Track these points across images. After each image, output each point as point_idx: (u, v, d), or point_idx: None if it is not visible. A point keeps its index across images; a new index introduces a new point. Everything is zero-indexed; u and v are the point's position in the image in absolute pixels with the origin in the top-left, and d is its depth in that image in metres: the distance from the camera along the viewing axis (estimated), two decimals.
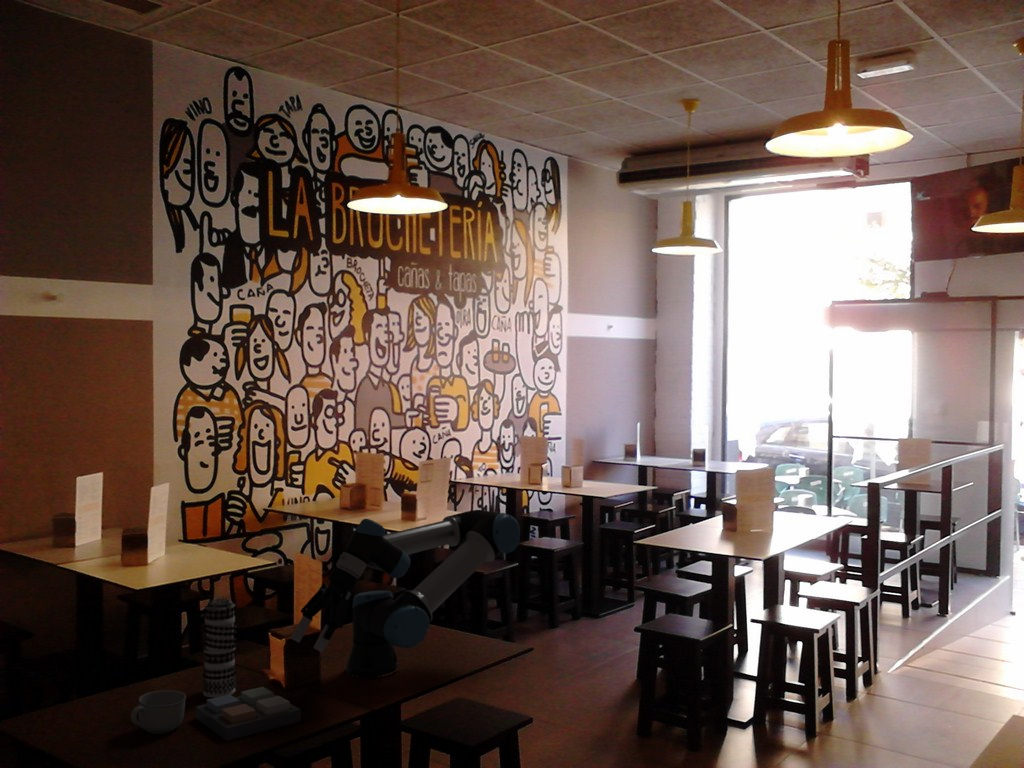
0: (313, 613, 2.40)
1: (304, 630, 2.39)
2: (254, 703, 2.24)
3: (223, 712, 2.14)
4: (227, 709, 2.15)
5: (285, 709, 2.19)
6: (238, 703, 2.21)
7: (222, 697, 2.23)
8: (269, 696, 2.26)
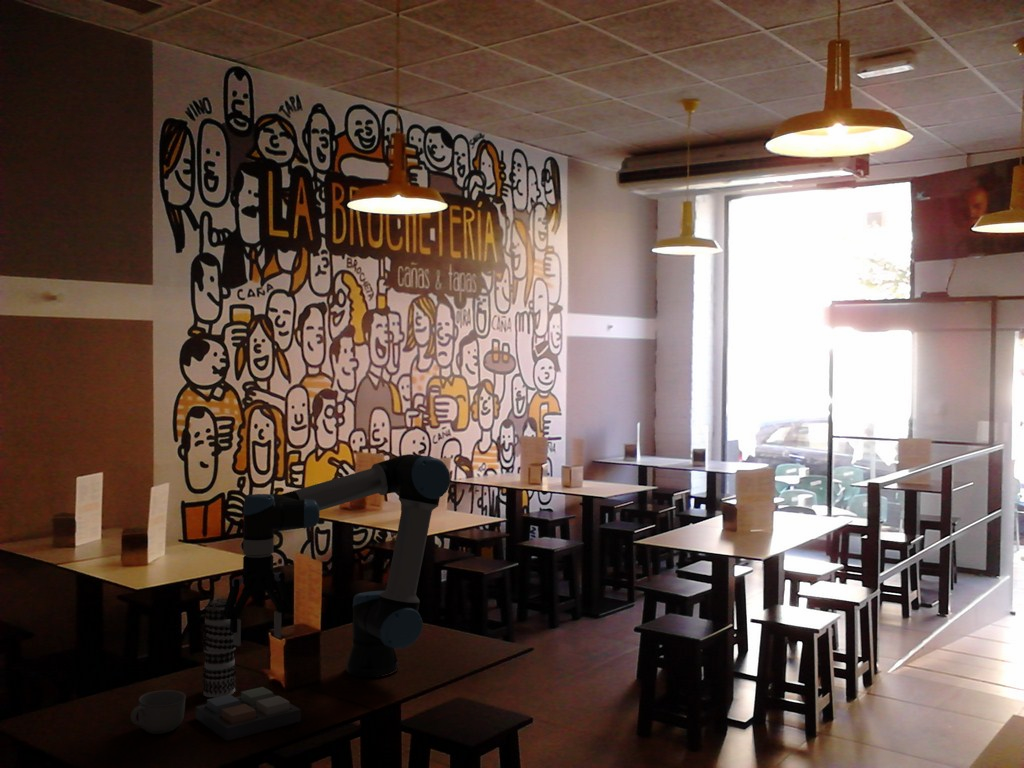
0: (276, 604, 2.30)
1: (277, 625, 2.30)
2: (254, 703, 2.24)
3: (223, 712, 2.14)
4: (227, 709, 2.15)
5: (285, 709, 2.19)
6: (238, 703, 2.21)
7: (222, 697, 2.23)
8: (269, 696, 2.26)
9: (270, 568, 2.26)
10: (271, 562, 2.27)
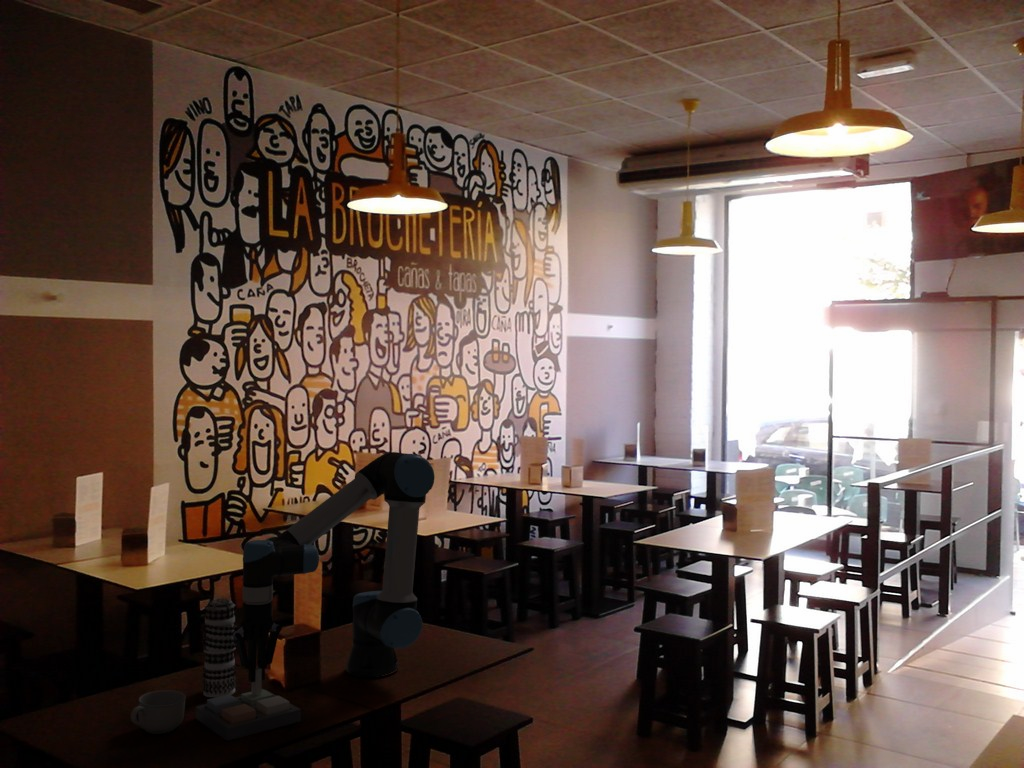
0: (260, 657, 2.27)
1: None
2: None
3: (223, 712, 2.14)
4: (227, 709, 2.15)
5: (285, 709, 2.19)
6: (238, 703, 2.21)
7: (222, 697, 2.23)
8: None
9: (269, 615, 2.26)
10: (270, 609, 2.27)
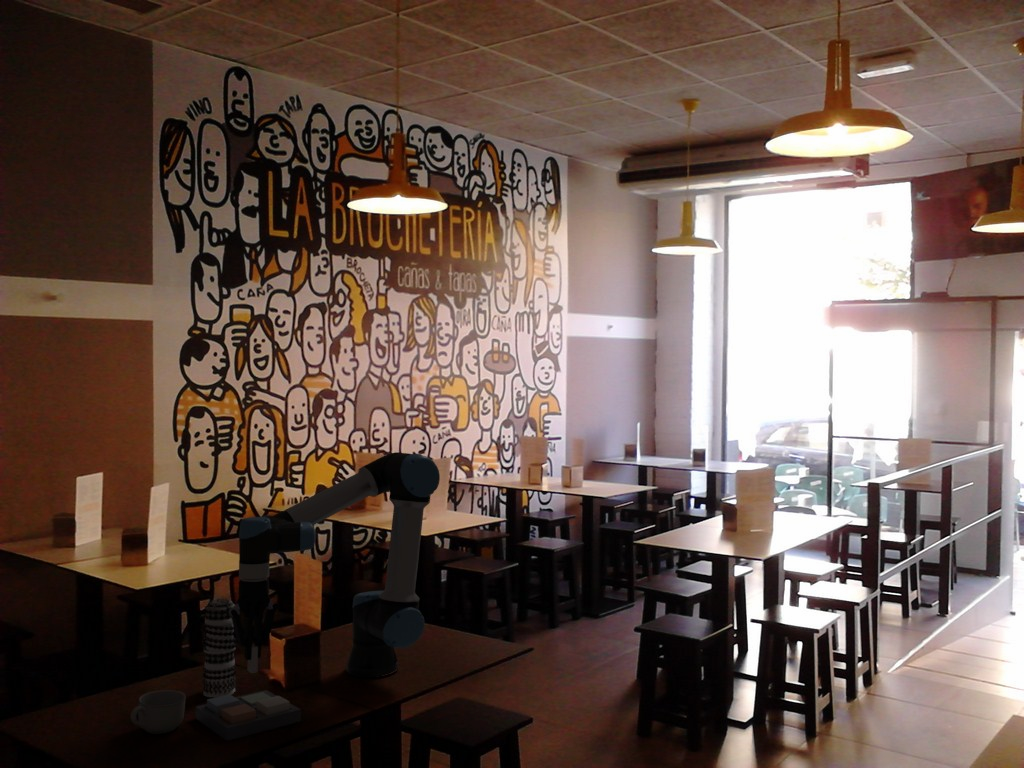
0: (256, 635, 2.25)
1: None
2: None
3: (223, 712, 2.14)
4: (227, 709, 2.15)
5: (285, 709, 2.19)
6: (238, 703, 2.21)
7: (222, 697, 2.23)
8: None
9: (265, 592, 2.24)
10: (267, 586, 2.24)
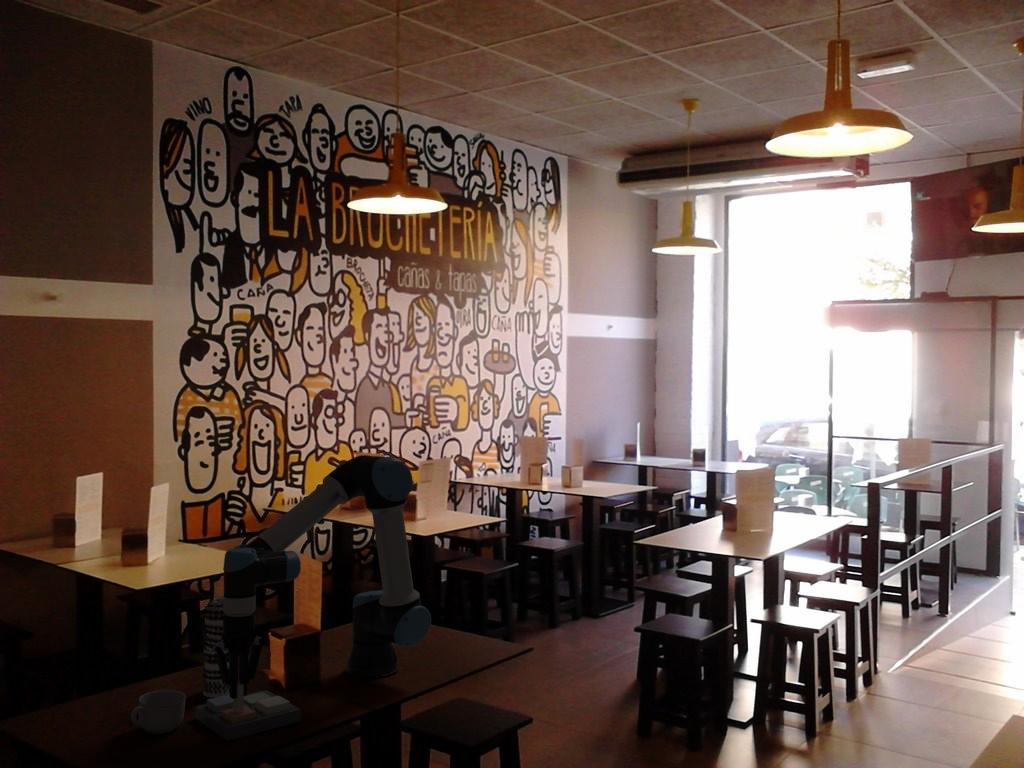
0: (242, 672, 2.15)
1: None
2: None
3: (223, 714, 2.14)
4: (227, 711, 2.15)
5: (285, 709, 2.19)
6: None
7: (222, 697, 2.23)
8: None
9: (252, 627, 2.14)
10: (253, 621, 2.14)
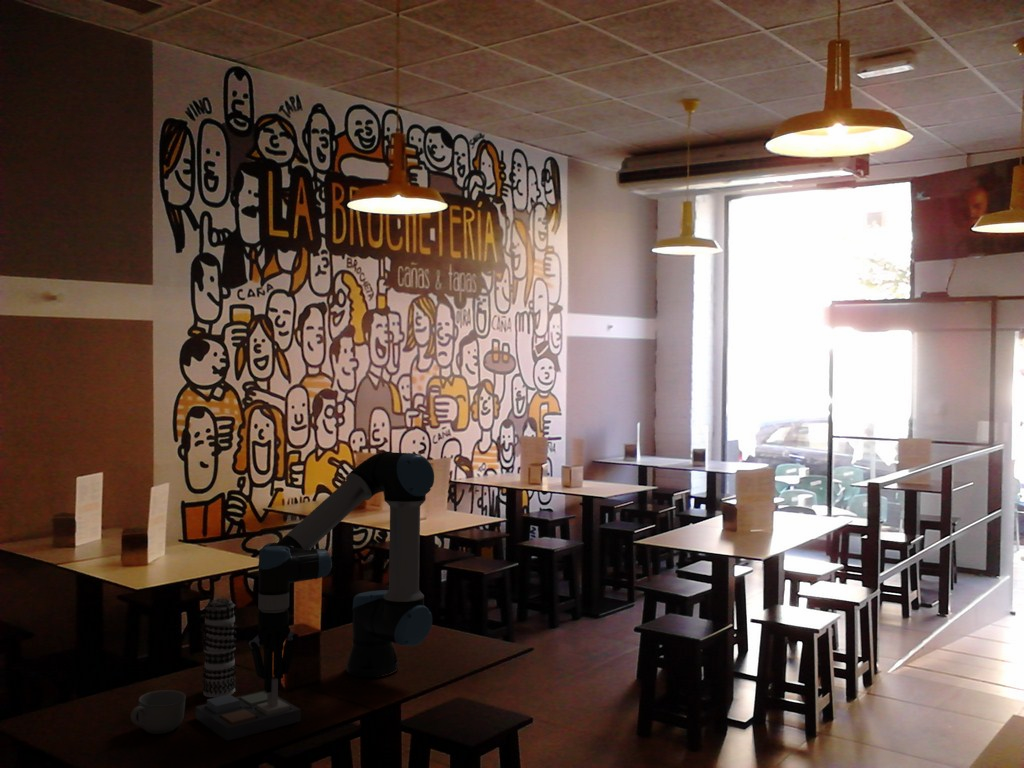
0: (276, 667, 2.21)
1: None
2: None
3: (223, 718, 2.14)
4: (227, 715, 2.15)
5: None
6: (238, 703, 2.21)
7: (222, 697, 2.23)
8: None
9: (286, 623, 2.19)
10: (287, 617, 2.20)
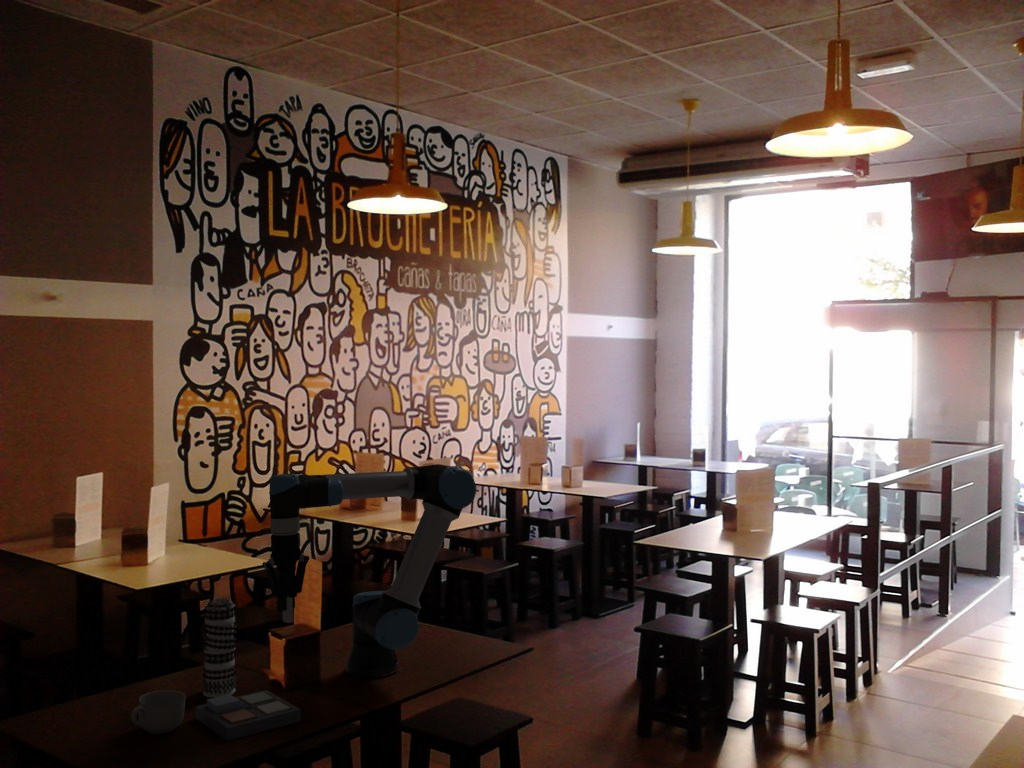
0: (290, 586, 2.34)
1: None
2: None
3: (223, 718, 2.14)
4: (227, 715, 2.15)
5: None
6: (238, 703, 2.21)
7: (222, 697, 2.23)
8: None
9: (298, 545, 2.33)
10: (298, 539, 2.34)
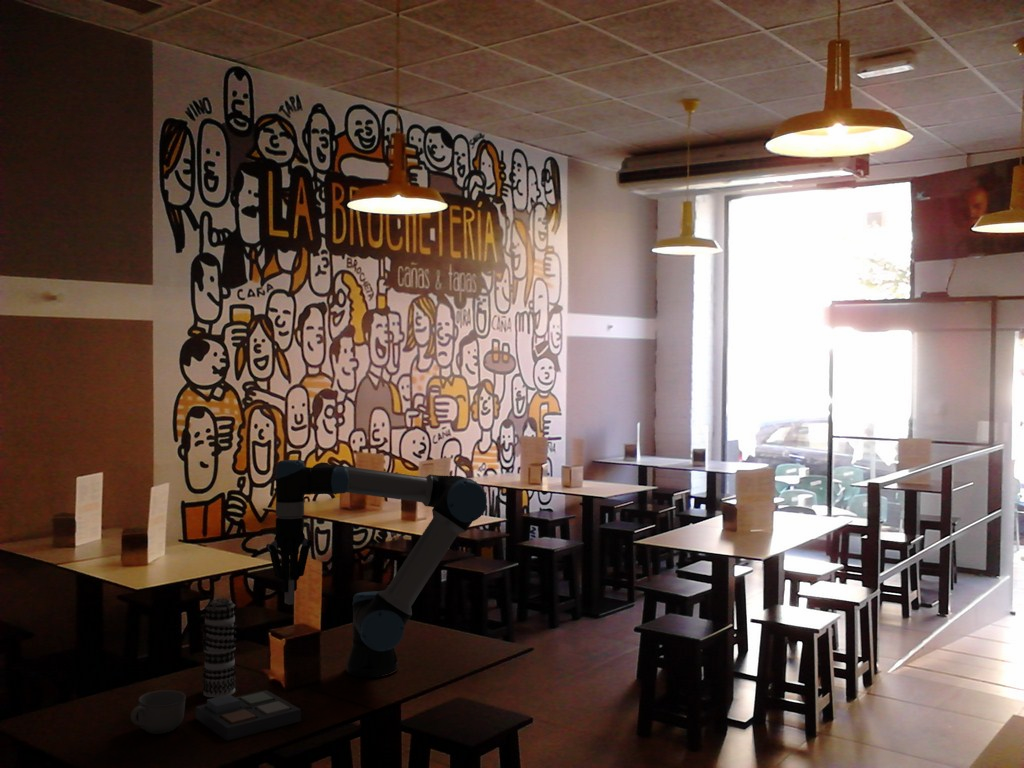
0: (292, 569, 2.41)
1: None
2: None
3: (223, 718, 2.14)
4: (227, 715, 2.15)
5: None
6: (238, 703, 2.21)
7: (222, 697, 2.23)
8: None
9: (301, 529, 2.40)
10: (302, 524, 2.40)
